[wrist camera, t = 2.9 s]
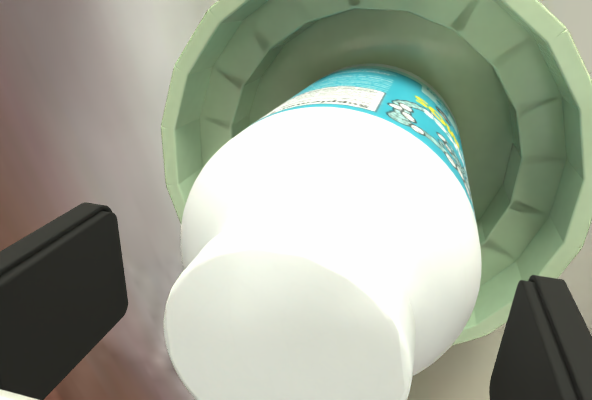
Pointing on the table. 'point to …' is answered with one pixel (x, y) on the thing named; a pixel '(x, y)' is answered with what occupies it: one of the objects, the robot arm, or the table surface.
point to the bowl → (444, 79)
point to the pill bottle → (327, 247)
